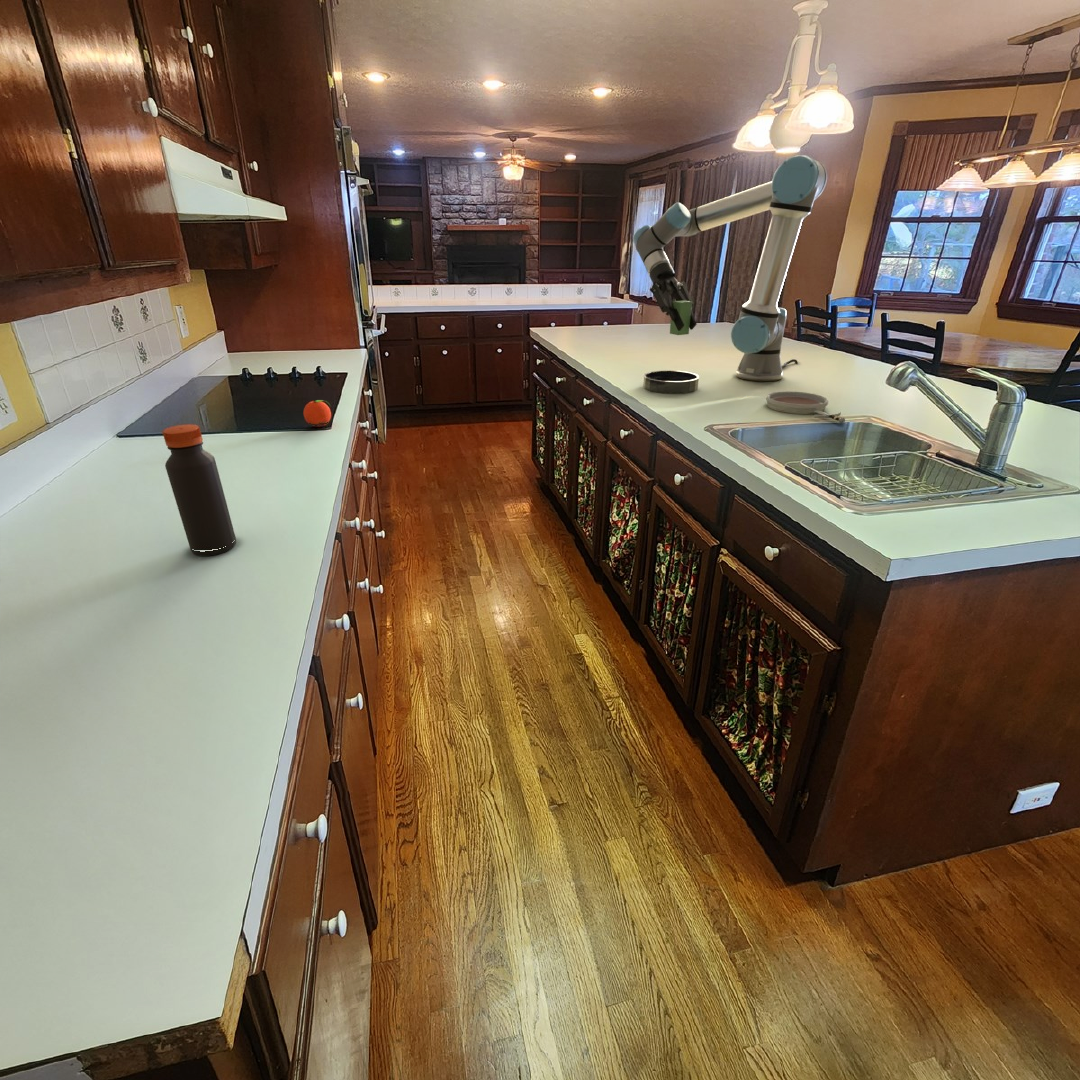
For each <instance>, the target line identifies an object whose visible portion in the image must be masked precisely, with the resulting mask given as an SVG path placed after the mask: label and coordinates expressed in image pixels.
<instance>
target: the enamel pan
mask: <svg viewBox="0 0 1080 1080" xmlns="http://www.w3.org/2000/svg"><path fill="white" fill-rule="evenodd" d="M699 379H700V376H699V375H698V374H697V373H693V372H689V371H683V370H682V371H681V370H654V371H649V372H646V373H644V375H643V385H642V386H643V387H642V388H643V389H645V390H647V391H649V392H653V393H656V394H657V393H658V394H671V395H677V394H679V395H680V394H688V393H689V394H690V393H693V392H696V391H697V390H698V389H699V388H698V387H699Z"/></svg>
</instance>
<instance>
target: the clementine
mask: <svg viewBox="0 0 1080 1080" xmlns="http://www.w3.org/2000/svg"><path fill="white" fill-rule="evenodd" d="M325 402H326V403H327V404H328V405H329V406H331V404H330V403H329V402H328V401H327V400H323V399H317V400H316V399H314V400H312V401H309V402H308V403H307V404H306V405H305V406H304V408H303V418H304V420H305V422H306V423H307V424H309V423H311V424H319V423H327V422H328V423H330V421H331V418H332V412H331V408H330V407H329V406H328V405H327V404H326V403H325ZM328 423H327V424H328ZM327 424H324V425H317V426H315V425H311V426H312V427H315V428H323V427H325V426H326V425H327Z"/></svg>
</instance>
